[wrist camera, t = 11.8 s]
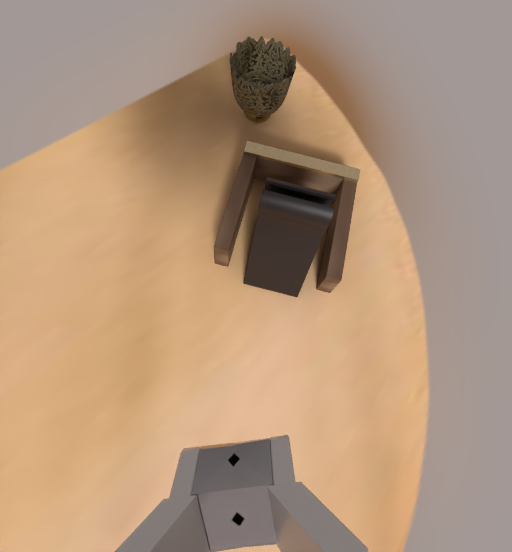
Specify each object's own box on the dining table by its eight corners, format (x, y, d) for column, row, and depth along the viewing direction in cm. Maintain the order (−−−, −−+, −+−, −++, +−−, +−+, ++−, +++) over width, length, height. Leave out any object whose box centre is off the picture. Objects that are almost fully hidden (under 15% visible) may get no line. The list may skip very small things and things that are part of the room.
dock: (214, 263, 39) (213, 245, 35) (245, 166, 44) (247, 140, 39) (330, 292, 39) (342, 278, 34) (347, 191, 43) (360, 169, 39)
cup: (247, 85, 48) (251, 26, 41) (294, 108, 48) (307, 52, 40) (218, 120, 46) (217, 64, 38) (267, 145, 45) (276, 93, 38)
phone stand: (262, 214, 41) (276, 142, 30) (311, 227, 41) (344, 159, 30) (242, 284, 38) (250, 232, 27) (296, 298, 38) (326, 251, 27)
